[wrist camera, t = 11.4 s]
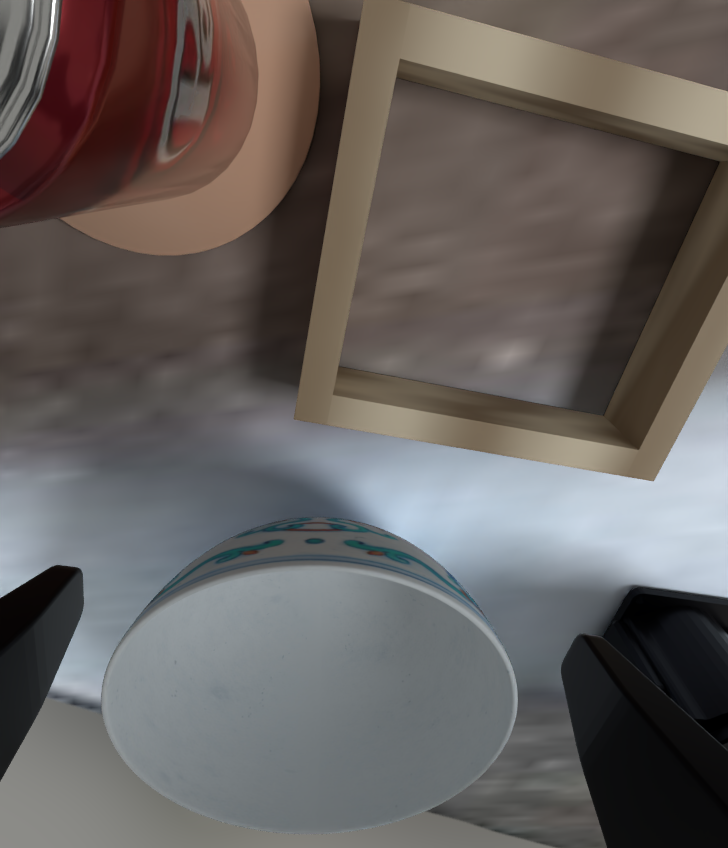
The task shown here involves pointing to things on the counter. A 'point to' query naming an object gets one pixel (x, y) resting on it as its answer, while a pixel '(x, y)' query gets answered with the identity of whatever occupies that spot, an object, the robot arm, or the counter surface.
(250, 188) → the saucer
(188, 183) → the soda can
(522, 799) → the counter surface
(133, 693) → the chinaware
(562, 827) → the counter surface
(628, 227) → the counter surface
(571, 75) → the square beige frame
